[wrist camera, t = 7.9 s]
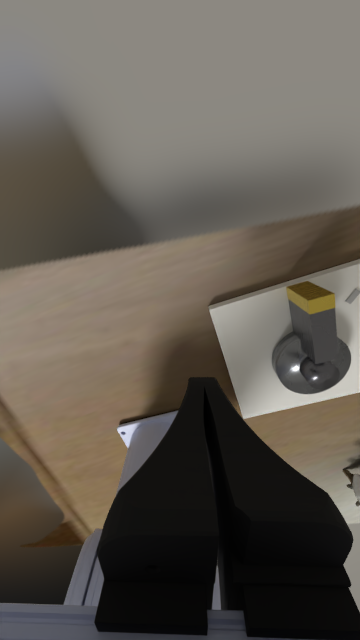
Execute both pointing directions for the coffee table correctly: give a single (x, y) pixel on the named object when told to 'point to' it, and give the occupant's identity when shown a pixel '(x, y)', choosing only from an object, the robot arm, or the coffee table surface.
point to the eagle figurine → (354, 484)
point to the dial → (311, 342)
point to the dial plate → (274, 324)
